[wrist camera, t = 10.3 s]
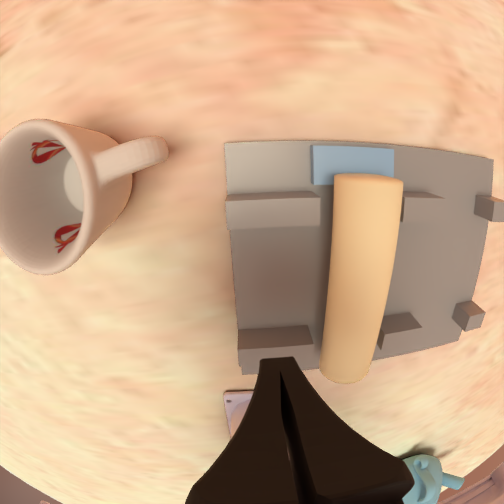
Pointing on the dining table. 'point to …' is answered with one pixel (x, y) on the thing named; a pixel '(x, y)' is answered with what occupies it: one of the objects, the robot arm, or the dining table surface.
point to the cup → (64, 189)
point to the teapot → (428, 479)
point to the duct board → (320, 238)
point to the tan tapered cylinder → (359, 271)
